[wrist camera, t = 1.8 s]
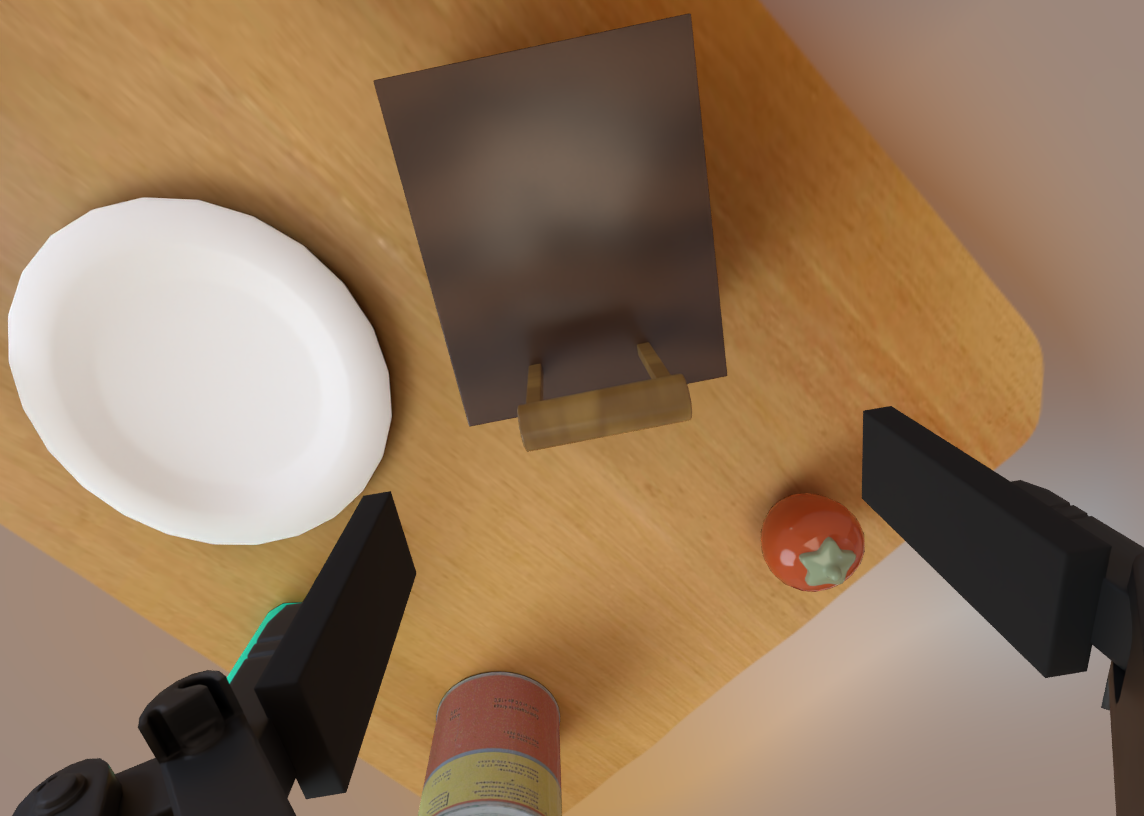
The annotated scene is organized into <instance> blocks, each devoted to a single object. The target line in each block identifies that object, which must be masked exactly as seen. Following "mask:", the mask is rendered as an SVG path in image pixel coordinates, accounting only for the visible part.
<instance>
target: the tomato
mask: <svg viewBox="0 0 1144 816" xmlns="http://www.w3.org/2000/svg"><path fill="white" fill-rule="evenodd" d="M761 548H762V553H763V557H764V560H765V561H766V563H767V565H768V567H769V569H770V571H771V572H772V573H773V574H774V575H775V576H776V577H777V578H778V579H779V580H781V581H782V582H783V583H784V584H786V585H788V586H791V587H793V588H796V589H799V590H801V591H812V592H816V591H821V590H827V589H830V588H833V587H835V586H837V585H839V584H842V583H843V582H844V581H845V580H846V579H848V578H849V577H850V576H851V575H852V574H853V573H854V572H855V570H856V569H857V568H858V566H859V565H860V564H861V561H862V558H863V555H864V552H865V550H864V533H863V530H862V528H861V526H860V524H859V522H858V520H857V519H856V517H855V516H854V515H853V514H852V513H851V512H850V511H849V510H848V509H847V508H846V507H845V506H843V505H842V504H840V503H839V502H837V501H834V500H832V499H830V498H827V497H825V496H821V495H818V494H808V493H799V494H794V495H789V496H787V497H785V498H783V499H781V500H779V501H778V502H777V503H776V504H775V505H773V506H772V507H771V509H770V510H769V512H768V513H767V515H766V517H765V519H764V522H763V525H762V529H761Z"/></svg>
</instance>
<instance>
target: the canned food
mask: <svg viewBox="0 0 1144 816" xmlns="http://www.w3.org/2000/svg"><path fill="white" fill-rule="evenodd" d="M559 725H560V712H559V708H558V705H557V702H556V700H555V699H554V697H553V696H552V694H551V693H550V692H549V691H548V690H547V689H546V688H545V687H544V686H542V685H541V684H540V683H538V682H536V681H534V680H532V679H530V678H528V677H525V676H522V675H519V674H514V673H508V672H490V673H483V674H479V675H475V676H472V677H469V678H467V679H465V680H463V681H461V682H459V683H458V684H456V685H455V686H454V687H452V688H451V689H450V690H449V691H448V692H447V693H446V695H445V696H444V697H443V699H442V700H441V702H440V704H439V707H438V710H437V715H436V726H435V731H434V736H433V741H432V746H431V751H430V756H429V762H428V767H427V772H426V777H425V782H424V787H423V792H422V797H421V802H420V807H419V812H418V816H562V798H561V766H560V735H559Z"/></svg>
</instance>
